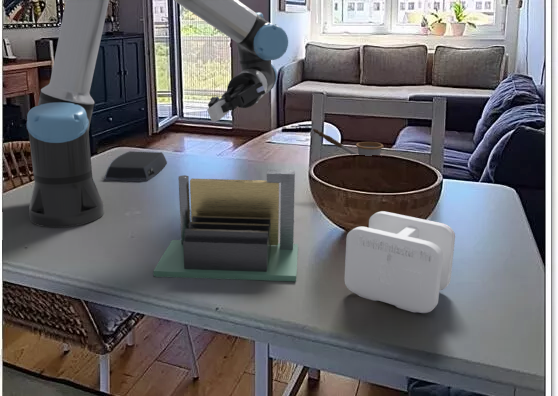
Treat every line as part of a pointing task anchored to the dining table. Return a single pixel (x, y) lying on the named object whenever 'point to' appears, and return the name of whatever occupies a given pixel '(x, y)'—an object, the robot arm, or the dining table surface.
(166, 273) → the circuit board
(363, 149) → the coffee pot
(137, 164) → the external hard drive
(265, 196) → the brass plate
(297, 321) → the dining table surface
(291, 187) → the grey slotted rack
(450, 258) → the cable organizer
